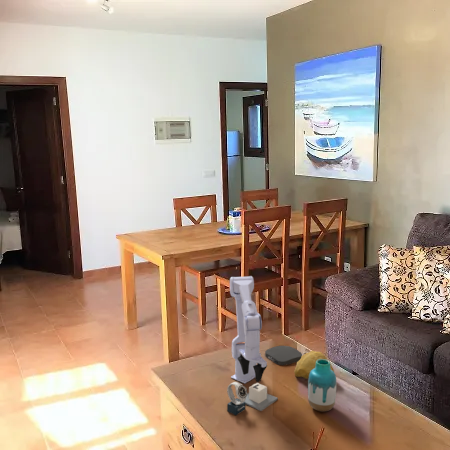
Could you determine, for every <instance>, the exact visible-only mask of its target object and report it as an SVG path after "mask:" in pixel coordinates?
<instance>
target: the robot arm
mask: <svg viewBox="0 0 450 450" xmlns="http://www.w3.org/2000/svg"><path fill="white" fill-rule="evenodd" d="M254 289H255V280H254V277H253V276H252V275H249V276H231V277H230V278H229V294H230V296H231V297H232V298H233V297H234V300H235V312H236V328H237V329H236V331H237V335H236V336H235V337H234V338H233V339H232V341H231V356H232V358H233V359H234V361H235V362H234V363H235V364H234V368H235V369H234V370H235V371H234V374H233V375H231V376H230V378H231V379H232V380H236V381H237V382H239V383H243V384H247V383H249V382H250V381H251V380H253V379H255V383H259V382H261V381H262V379H263V374H264V372H265V370H266V368H267V367H268V362H267V360H265V359H264V358H263V357H262V354H261V351H260V350H261V348H260V347H261V345H260V344H261V343H260V342H261V330H262V327H263V322H262V316H261V314H260V313H259V312H258V309H257V306H256V303H255V302H254V301H253V300H252V293H253V291H254Z"/></svg>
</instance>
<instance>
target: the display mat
mask: <svg viewBox="0 0 450 450" xmlns="http://www.w3.org/2000/svg"><path fill="white" fill-rule="evenodd" d="M276 401H278V397H276V396H275V395H273V394H269V393H267V399H265V400H264V401H262V402H260V403H259V404H258V403H256V402H254V401H252V400H250V399H249V392H247V396H246V400H245V401H244V402H245V406H249V407H251V408H253V409H255V410H256V411H257V410H258V411H260V412H262V411H264V410H265V409H267V408H268V407H269V406H271V405H272V404H273V403H275V402H276Z"/></svg>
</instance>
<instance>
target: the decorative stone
mask: <svg viewBox="0 0 450 450" xmlns="http://www.w3.org/2000/svg"><path fill="white" fill-rule="evenodd" d="M318 359H326V360H328V361H330V360H329V359H328V358H327V357H326V355H325V354H323V352H321V351H315V350H310V351H309V352H307V353H304V354H302V356H301V359H300V360H299V361H298V362H296V366H295V368H294V371H293V372H294V373H293V374H294V376H295V377H296V378H303V379H306V380H308V379H309V374H310V372H311V370H312V369H314V368H315V366H316V361H317V360H318ZM330 369H331V370H332V371H333V372H334V373H335V370H334V368H333V366H332V364H331V362H330Z"/></svg>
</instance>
